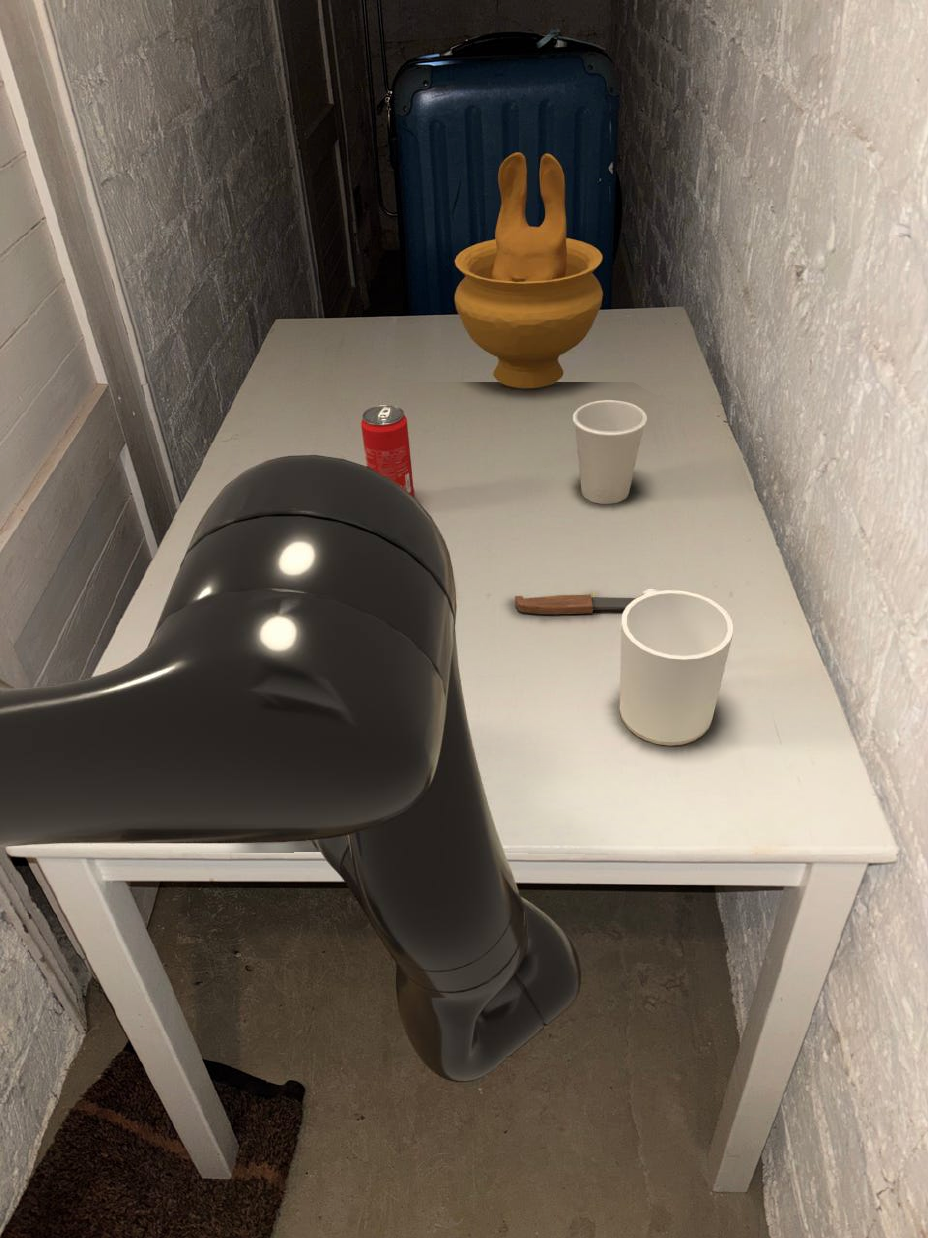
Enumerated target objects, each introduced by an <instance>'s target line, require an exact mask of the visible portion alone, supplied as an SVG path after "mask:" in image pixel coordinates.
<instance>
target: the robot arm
mask: <svg viewBox="0 0 928 1238" xmlns="http://www.w3.org/2000/svg"><path fill="white" fill-rule="evenodd" d="M174 578H175V579H174V581H173V583H172V586H171V589H170V591H169V594H168V595H167V598H166V601H165V603H164V606H163V608H162V611H161V614H160V616H159V618H158V621H157V624H156V626H155V629H154V630H153V634H152V636H151V638H150V640H149V643H148V645H147V647H146V648H145V650H144V651H142V652H141V653H140V654H139V655H138V656H137V657H135V658H133V659H132V660H131V661H130V662H128V663H126V664H123V665H122V666H120V667H118V668H116V669H113V670H110V671H107V672H105V673H102V674H98V675H94V676H91V677H86V678H83V679H80V680H74V681H67V682H62V683H56V684H47V685H38V686H37V685H36V686H25V687H14V686H12V685H11V684H9V683H7V682H6V681H4V680H3V679H1V678H0V848H8V847H22V846H33V845H34V846H35V845H37V846H38V845H58V844H262V843H263V844H265V843H267V844H268V843H292V842H293V843H294V842H308V841H311V843H312V845H313V846H314V847H315V849H316V850H317V851H319V852H320V853H321V855H322V857H323V858H324V859H325V861H326V863H328V864H329V866H330V867H331V868H332V869H333V870H334V871H335V872H336V873H337V874H338V876H340V878H341V879H342V880H343V882H344V884H345V885H346V887H347V888H348V889H349V891H350V892H351V894H352V895H353V897H354V899H355V900H356V901H357V903H358V904H359V906H360V908H361V909H362V910H363V912H364V914H365V915H366V917H367V918H368V920H369V922H370V924H371V926H372V928H373V930H374V932H375V934H376V935H377V936H378V939H380V941H381V943H382V944H383V946H384V948H385V949H386V950H387V952H388V953H389V955H390V957H392V960H394V962H395V965H396V966H395V991H396V1000H397V1007H398V1012H399V1013H398V1014H399V1017H400V1020H401V1023H402V1026H403V1029H404V1031H405V1034H406V1036H407V1039H408V1042H409V1043H410V1045H411V1046H412V1049H413V1050H414V1052H415V1053H416V1055H417V1056H418V1058H419V1059H420V1060H421V1061H422V1063H423V1064H424V1065H425V1066H426V1067H427V1068H428V1069H429V1070H430V1071H432V1072H433V1073H434V1074H435V1075H437V1076H438V1077H440V1078H442V1079H444V1080H446V1081H450V1082H454V1083H470V1082H475V1081H477V1080H480V1079H483V1078H484V1077H486V1076H487V1075H489V1074H490V1073H492V1072H493V1071H495V1070H496V1069H497V1068H499V1066H501V1065H502V1064H503V1063H505V1061H507V1060H508V1058H510V1057H511V1056H513V1055H514V1054H515V1053H516V1052H518V1051H519V1050H520V1049H521V1048H522V1047H524V1045H526V1044H527V1043H528V1042H529V1041H531V1040H532V1039H533V1038H534V1037H535V1036H537V1035H538V1034H539V1033H541V1032H542V1031H543V1030H544V1028H545V1027H547V1026H549V1025H551V1024H552V1023H553V1022H554V1021H555V1020H556V1019H558V1018H559V1017H560V1016H561V1015H562V1014H564V1013H565V1012H566V1011H567V1010H568V1009H569V1008H570V1007H571V1006H572V1005H573V1004H574V1003H575V1001H576V1000H577V998H578V997H579V994H580V992H581V987H582V968H581V963H580V959H579V958H580V957H579V955H578V953H577V950H576V948H575V945H574V944H573V943H572V941H571V939H570V937H569V935H568V934H567V933H566V932H565V931H564V929H562V927H561V926H560V925H559V924H558V923H557V922H556V921H555V920H554V919H553V918H552V917H550V916H549V915H548V914H547V913H546V912H544V911H543V910H541V909H540V908H539V907H537V906H536V905H534V904H533V903H532V902H531V901H529V900H527V899H526V898H524V897H522V896H521V893H520V891H519V888H518V885H517V883H516V879H515V877H514V875H513V872H512V868H511V866H510V863H509V861H508V859H507V855H506V853H505V850H504V848H503V845H502V842H501V839H500V836H499V833H498V831H497V826H496V824H495V821H494V818H493V816H492V812H491V809H490V805H489V801H488V797H487V794H486V791H485V786H484V784H483V779H482V776H481V772H480V768H479V765H478V764H479V763H478V760H477V757H476V751H475V748H474V743H473V738H472V735H471V730H470V725H469V720H468V714H467V710H466V704H465V699H464V693H463V687H462V679H461V674H460V668H459V667H460V666H459V657H458V655H459V654H458V645H457V634H456V632H457V631H456V623H457V622H456V621H457V608H458V606H457V605H458V604H457V592H456V591H457V589H456V581H455V575H454V568H453V563H452V559H451V555H450V551H449V547H448V546H447V543H446V540H445V539H444V537H443V535H442V533H441V531H440V528H438V526H437V524H436V522H435V521H434V519H433V517H432V515H430V513H428V511H427V510H426V509H425V508H424V507H423V506H422V504H421V503H420V502H419V500H418V499H417V498H416V497H415V496H414V497H413V496H412V495H411V494H410V493H408V492H407V491H406V490H405V489H403V488H402V487H401V486H400V485H398V484H397V483H396V482H395V481H393V480H392V479H390V478H388V477H386V476H384V475H382V474H381V473H379V472H377V471H375V470H373V469H371V468H369V467H367V465H364V464H360V463H357V462H354V461H350V460H349V459H345V458H339V457H333V456H325V455H318V454H301V455H300V454H299V455H287V456H280V457H275V458H272V459H269V460H265V461H263V462H261V463H259V464H257V465H254V466H252V467H249V468H247V469H246V470H244V471H243V472H241V473H240V474H239V475H238V476H236V477H235V478H233V479H232V480H231V481H230V482H229V483H227V484H226V485H225V486H224V487H223V488H222V490H221V491H220V492H219V494H217V495H216V497H215V499H214V500H213V501H212V503H211V504H210V505H209V507H208V508H207V509H206V511H205V512H204V514H203V516H202V517H201V519H200V521H199V522H198V525H197V527H196V529H195V530H194V533H193V535H192V538H191V540H190V542H189V545H188V547H187V548H186V552H185V554H184V557H183V559H182V561H181V563H180V565H179V569H178V571H177V574H176V576H175V577H174Z"/></svg>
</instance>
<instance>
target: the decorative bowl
mask: <svg viewBox="0 0 928 1238" xmlns="http://www.w3.org/2000/svg"><path fill="white" fill-rule="evenodd" d="M539 164H540V165H539V189H540V196H541V198H542V199H541V200H542V202H543V204H544V212H545V214H544V220H543V222H542V223H541V225H539V226H530V225H529V224H528V222H527V219H526V204H527V194H528V181H527V180H528V175H527V174H528V168H527V161H526V157H525V155H524V154H523V153H522V152H514V153H512V154H511V155H509V156H507V157H506V158H505V159H504V160H503V161H502V162H501V164H500V166H499V168H498V173H497V174H498V175H497V182H498V188H499V192H500V193H499V194H500V197H501V199H500V200H501V204H500V209H499V213H498V217H497V221H496V227H495V231H494V232H495V233H494V237H495V238H494V239H490V240H485V241H482V242H479V243H476V244H474V245H470V246H469V247H467V248H465V249H463V250H462V251H460V252H459V253H458V255H456V257H455V259H454V263H455V266H456V268H457V269H458V270H459V271H460V272H461V273H462V274H463V275H464V278H463V279H462V280H461V281H460V282H459V283H458V286H457V287H456V290H455V293H454V304H455V309H456V311H457V314H458V316H459V318H460V320H461V323H462V325H463V328H464V329H465V331H466V332H467V334H468V336H469V337H470V339H471V340H472V341H473V342H474V343H475V344H476V345H477V347H479V348H480V349H482V350H483V351H485V352H486V353H488V354H490V355H492V356H494V357H497V360H498V362H497V365H496V366H495V369H494V370H493V373H492V376H493V377H494V379H495V380H496V381H497V382H499V383H500V384H502V385H505V386H508V387H512V388H516V389H517V388H518V389H536V388H537V389H538V388H542V387H546V386H551V385H553V384H555V383H557V382H558V381H560V380H561V379H562V378H563V376H564V369H563V368H562V366H561V364H560V362H559V357H560V356H561V355H564V354H566V353H568V352H569V351H571V350H572V349H574V348H575V347H577V346H578V345H579V344H580V343H581V342H582V341H583V340H584V339H585V337H587V335H588V333H589V332H590V331H591V329H592V327H593V324H594V322H595V320H596V318H597V316H598V314H599V311H600V309H601V307H602V303H603V296H604V292H603V289H602V286H601V283H600V281H599V280H598V278H597V277H596V276H595V274H594V273H593V272H594V271H595V270H596V269H597V268H598V267H599V265H600V264H601V263H602V261H603V254H602V252H601V251H600V250H599V249H598V248H597V247H595V246H594V245H592V244H589V243H587V242H584V241H582V240H577V239H573V238H569V237H568V238H567V216H566V205H565V204H566V182H565V173H564V172H563V171H564V170H563V168H562V166H561V164H560V163H559V161H558V160H557V159H556V158H555V157H554V156H553V155H552V154H550V153H544V154H543V155H542V156H541V158H540V163H539Z"/></svg>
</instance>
